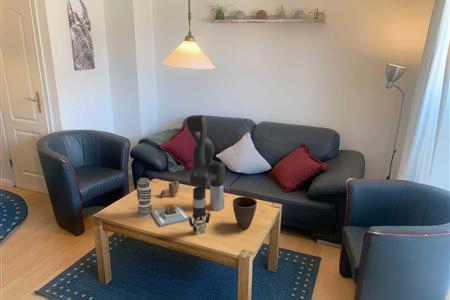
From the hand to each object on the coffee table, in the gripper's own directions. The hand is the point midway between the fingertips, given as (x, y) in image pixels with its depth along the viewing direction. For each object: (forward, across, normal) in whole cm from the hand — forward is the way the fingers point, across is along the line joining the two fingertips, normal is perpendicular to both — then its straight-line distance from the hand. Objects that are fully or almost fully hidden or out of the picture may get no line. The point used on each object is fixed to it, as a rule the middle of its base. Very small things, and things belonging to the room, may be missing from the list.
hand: (199, 230), depth 198 cm
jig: (+1, +9, -26) cm, 28 cm away
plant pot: (+1, -28, +5) cm, 29 cm away
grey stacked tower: (+2, +23, -36) cm, 43 cm away
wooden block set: (+1, -3, -58) cm, 58 cm away
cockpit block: (+1, 0, 0) cm, 1 cm away
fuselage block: (0, +9, -26) cm, 27 cm away
